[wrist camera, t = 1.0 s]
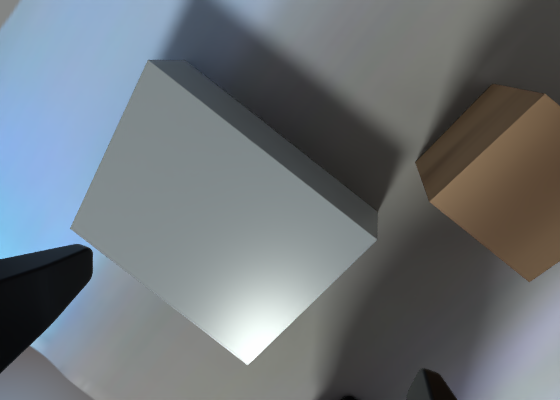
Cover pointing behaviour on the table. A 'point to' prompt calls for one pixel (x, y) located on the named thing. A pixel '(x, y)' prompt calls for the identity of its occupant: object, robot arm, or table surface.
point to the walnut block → (502, 176)
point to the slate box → (219, 211)
